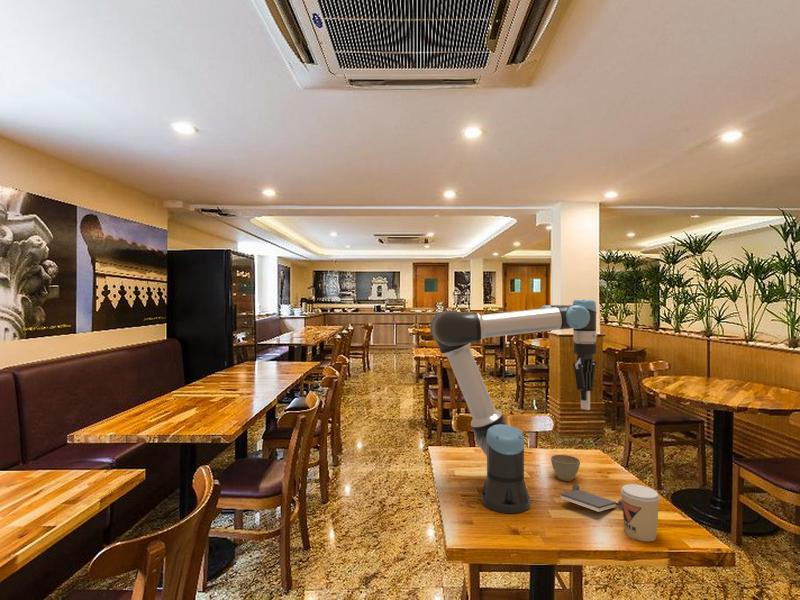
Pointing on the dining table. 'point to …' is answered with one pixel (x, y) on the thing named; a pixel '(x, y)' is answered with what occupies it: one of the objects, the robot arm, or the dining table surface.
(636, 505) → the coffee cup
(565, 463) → the flower pot
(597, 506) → the tile
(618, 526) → the dining table surface
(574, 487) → the hinge bracket
